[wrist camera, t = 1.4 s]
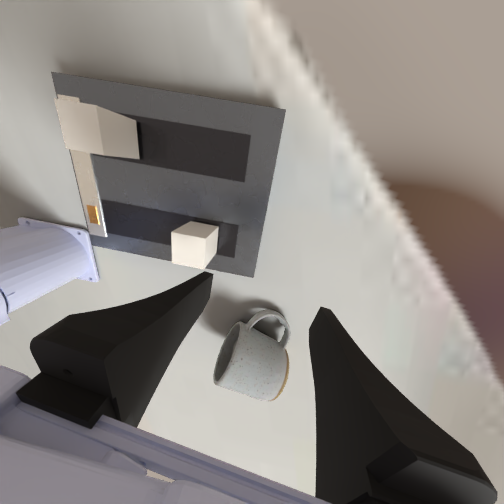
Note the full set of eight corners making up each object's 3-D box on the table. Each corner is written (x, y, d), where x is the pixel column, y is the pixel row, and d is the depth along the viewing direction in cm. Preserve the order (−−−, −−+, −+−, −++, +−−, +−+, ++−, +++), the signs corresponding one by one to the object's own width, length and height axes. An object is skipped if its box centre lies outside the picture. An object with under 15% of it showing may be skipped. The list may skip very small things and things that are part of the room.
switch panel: (105, 239, 23) (90, 245, 22) (75, 82, 17) (48, 70, 15) (255, 269, 23) (253, 278, 21) (284, 116, 16) (286, 109, 14)
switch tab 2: (189, 247, 20) (172, 262, 16) (190, 221, 19) (171, 232, 15) (216, 252, 20) (204, 269, 16) (218, 226, 18) (205, 238, 15)
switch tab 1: (108, 153, 17) (65, 148, 13) (103, 114, 16) (54, 98, 12) (139, 159, 17) (104, 155, 13) (136, 120, 15) (95, 105, 12)
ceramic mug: (265, 362, 29) (263, 420, 22) (221, 341, 29) (205, 395, 22) (303, 321, 25) (314, 376, 18) (252, 295, 25) (244, 342, 18)
